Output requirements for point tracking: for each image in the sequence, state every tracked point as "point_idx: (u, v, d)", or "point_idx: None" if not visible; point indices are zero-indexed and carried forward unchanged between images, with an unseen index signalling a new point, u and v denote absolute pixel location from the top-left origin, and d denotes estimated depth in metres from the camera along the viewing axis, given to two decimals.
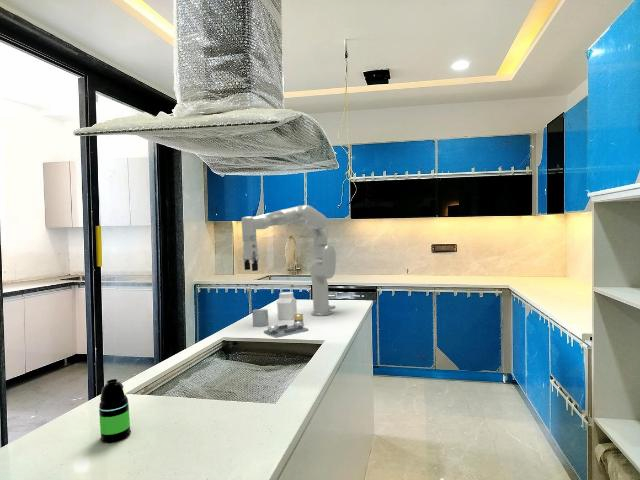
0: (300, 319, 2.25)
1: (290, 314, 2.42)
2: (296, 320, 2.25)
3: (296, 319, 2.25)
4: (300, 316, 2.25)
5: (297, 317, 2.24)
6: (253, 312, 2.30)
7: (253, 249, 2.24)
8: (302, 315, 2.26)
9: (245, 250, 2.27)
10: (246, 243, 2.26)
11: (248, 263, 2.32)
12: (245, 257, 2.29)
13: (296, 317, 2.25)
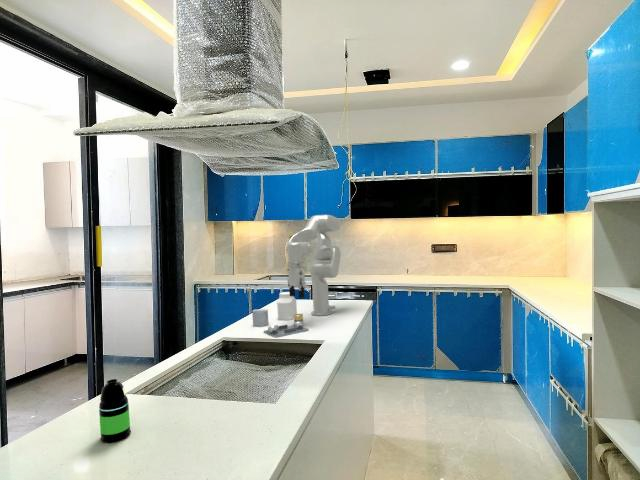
0: (300, 319, 2.25)
1: (290, 314, 2.42)
2: (296, 320, 2.25)
3: (296, 319, 2.25)
4: (300, 316, 2.25)
5: (297, 317, 2.24)
6: (253, 312, 2.30)
7: (300, 276, 2.22)
8: (302, 315, 2.26)
9: (291, 277, 2.25)
10: (293, 270, 2.23)
11: (293, 289, 2.30)
12: (291, 283, 2.26)
13: (296, 317, 2.25)
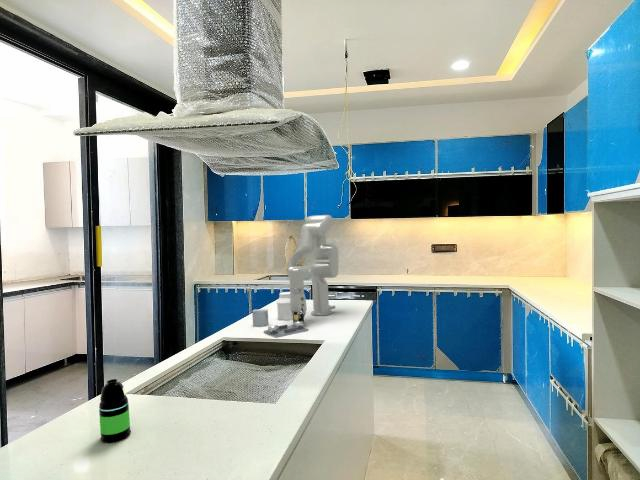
0: None
1: (290, 314, 2.42)
2: (296, 320, 2.25)
3: (296, 319, 2.25)
4: None
5: (297, 317, 2.24)
6: (253, 312, 2.30)
7: (301, 302, 2.22)
8: None
9: (293, 302, 2.26)
10: (294, 295, 2.24)
11: None
12: (292, 309, 2.27)
13: (296, 317, 2.25)
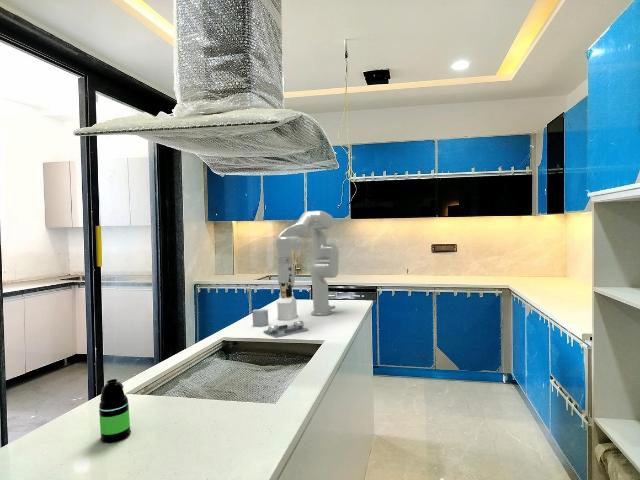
0: None
1: (290, 314, 2.42)
2: (283, 291, 2.13)
3: (283, 290, 2.13)
4: None
5: (284, 288, 2.13)
6: (253, 312, 2.30)
7: (289, 272, 2.11)
8: None
9: (280, 273, 2.15)
10: (281, 265, 2.13)
11: None
12: (280, 280, 2.16)
13: (283, 288, 2.13)
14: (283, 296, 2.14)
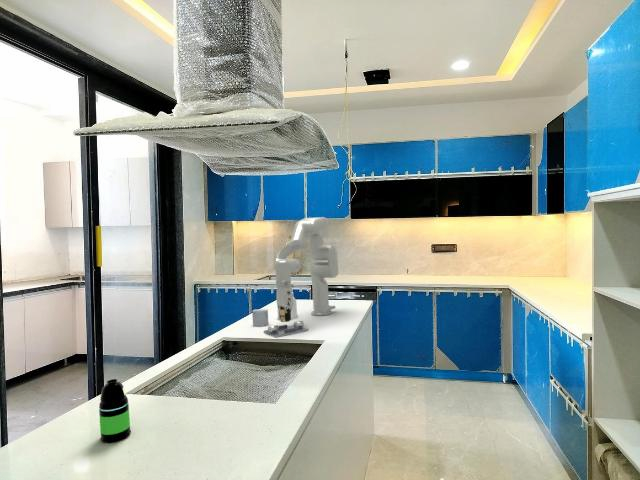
0: None
1: None
2: (282, 315, 2.12)
3: (282, 314, 2.12)
4: None
5: (283, 312, 2.11)
6: (253, 312, 2.30)
7: (288, 296, 2.09)
8: None
9: (279, 296, 2.13)
10: (280, 289, 2.11)
11: None
12: (279, 303, 2.14)
13: (282, 312, 2.12)
14: (282, 320, 2.12)
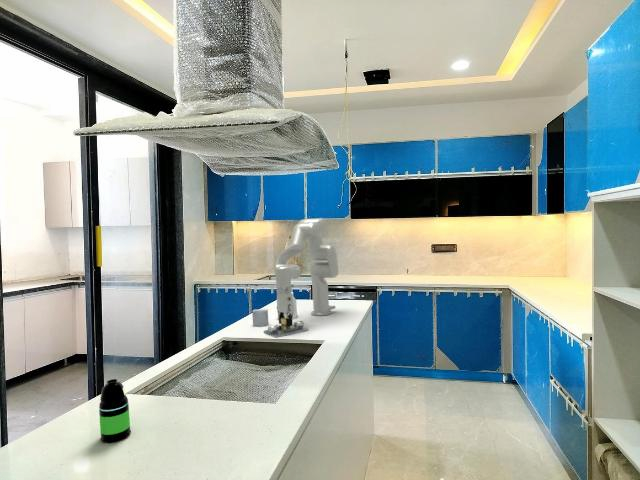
0: None
1: None
2: (283, 324, 2.12)
3: (283, 323, 2.12)
4: None
5: (284, 321, 2.12)
6: (253, 312, 2.30)
7: (288, 302, 2.10)
8: None
9: (279, 302, 2.13)
10: (281, 295, 2.11)
11: (283, 316, 2.17)
12: (279, 309, 2.14)
13: (283, 321, 2.12)
14: (283, 329, 2.12)
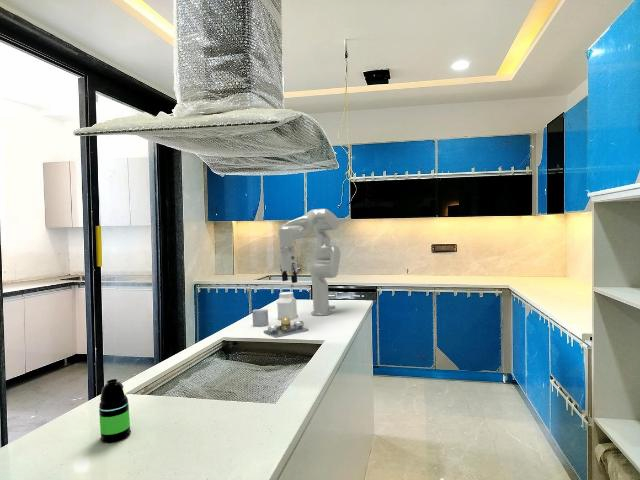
0: (287, 323, 2.12)
1: (290, 314, 2.42)
2: (283, 324, 2.12)
3: (283, 323, 2.12)
4: (287, 320, 2.12)
5: (284, 321, 2.12)
6: (253, 312, 2.30)
7: (292, 261, 2.18)
8: (289, 319, 2.13)
9: (283, 261, 2.22)
10: (284, 254, 2.20)
11: (286, 274, 2.27)
12: (283, 268, 2.23)
13: (283, 321, 2.12)
14: (283, 329, 2.12)
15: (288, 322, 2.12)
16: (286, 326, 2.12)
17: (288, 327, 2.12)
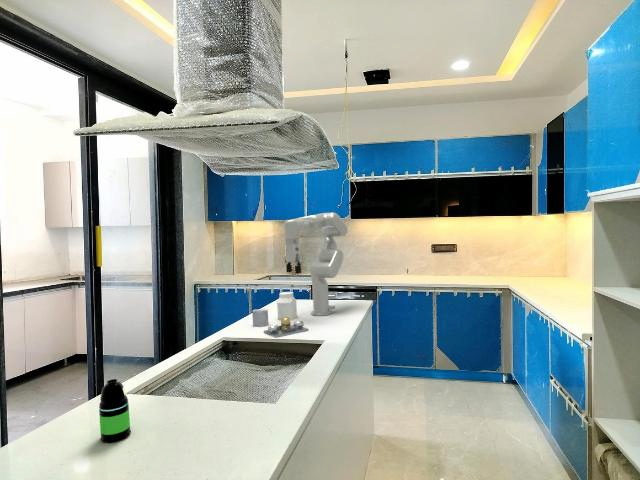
0: (287, 323, 2.12)
1: (290, 314, 2.42)
2: (283, 324, 2.12)
3: (283, 323, 2.12)
4: (287, 320, 2.12)
5: (284, 321, 2.12)
6: (253, 312, 2.30)
7: (296, 252, 2.27)
8: (289, 319, 2.13)
9: (288, 253, 2.31)
10: (289, 246, 2.29)
11: (290, 266, 2.36)
12: (288, 260, 2.32)
13: (283, 321, 2.12)
14: (283, 329, 2.12)
15: (288, 322, 2.12)
16: (286, 326, 2.12)
17: (288, 327, 2.12)
